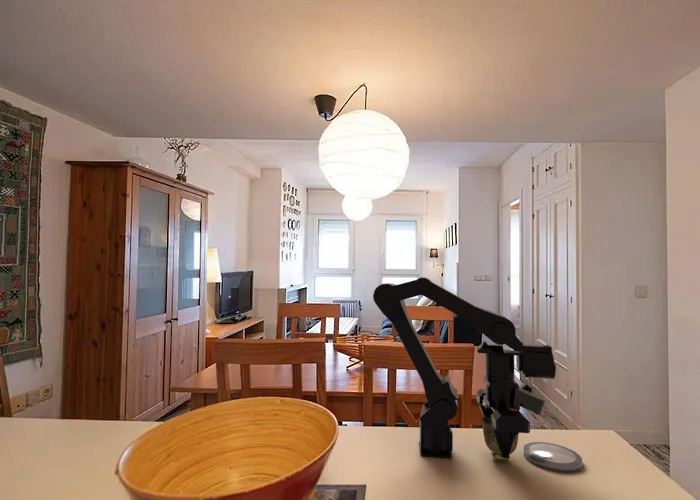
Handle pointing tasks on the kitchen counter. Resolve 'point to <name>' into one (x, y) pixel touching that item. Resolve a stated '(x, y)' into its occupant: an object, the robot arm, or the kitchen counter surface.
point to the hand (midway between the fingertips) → (500, 450)
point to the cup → (492, 442)
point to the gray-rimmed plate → (553, 457)
